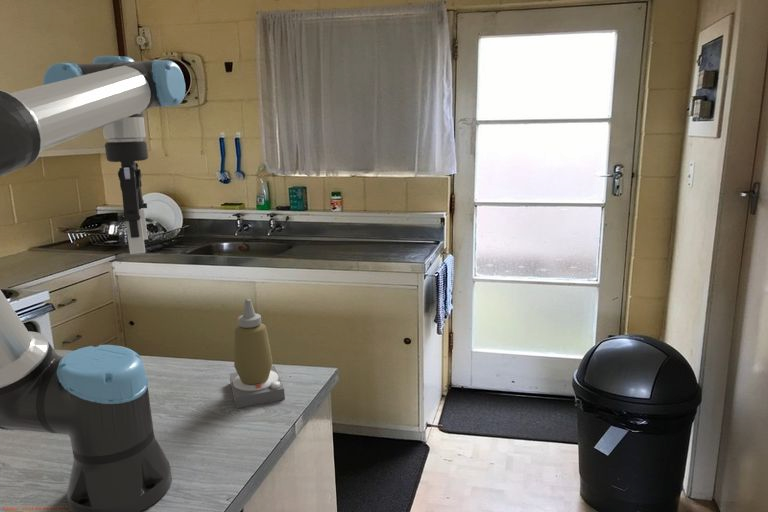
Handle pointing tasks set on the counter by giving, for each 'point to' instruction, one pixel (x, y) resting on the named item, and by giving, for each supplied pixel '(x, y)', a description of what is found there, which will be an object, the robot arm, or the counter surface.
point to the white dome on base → (257, 390)
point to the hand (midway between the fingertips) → (139, 246)
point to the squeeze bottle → (252, 348)
